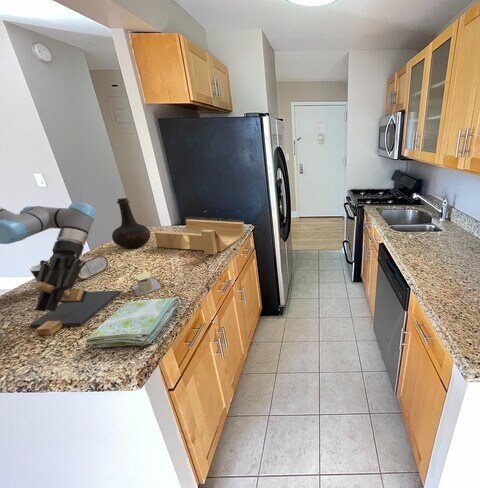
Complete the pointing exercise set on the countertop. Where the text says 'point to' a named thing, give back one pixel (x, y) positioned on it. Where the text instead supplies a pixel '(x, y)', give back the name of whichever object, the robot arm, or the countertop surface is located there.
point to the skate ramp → (202, 236)
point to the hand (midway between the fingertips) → (45, 310)
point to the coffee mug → (35, 272)
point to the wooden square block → (49, 327)
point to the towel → (134, 323)
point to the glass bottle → (129, 228)
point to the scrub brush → (68, 295)
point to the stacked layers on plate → (145, 283)
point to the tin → (93, 266)
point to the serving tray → (78, 309)
